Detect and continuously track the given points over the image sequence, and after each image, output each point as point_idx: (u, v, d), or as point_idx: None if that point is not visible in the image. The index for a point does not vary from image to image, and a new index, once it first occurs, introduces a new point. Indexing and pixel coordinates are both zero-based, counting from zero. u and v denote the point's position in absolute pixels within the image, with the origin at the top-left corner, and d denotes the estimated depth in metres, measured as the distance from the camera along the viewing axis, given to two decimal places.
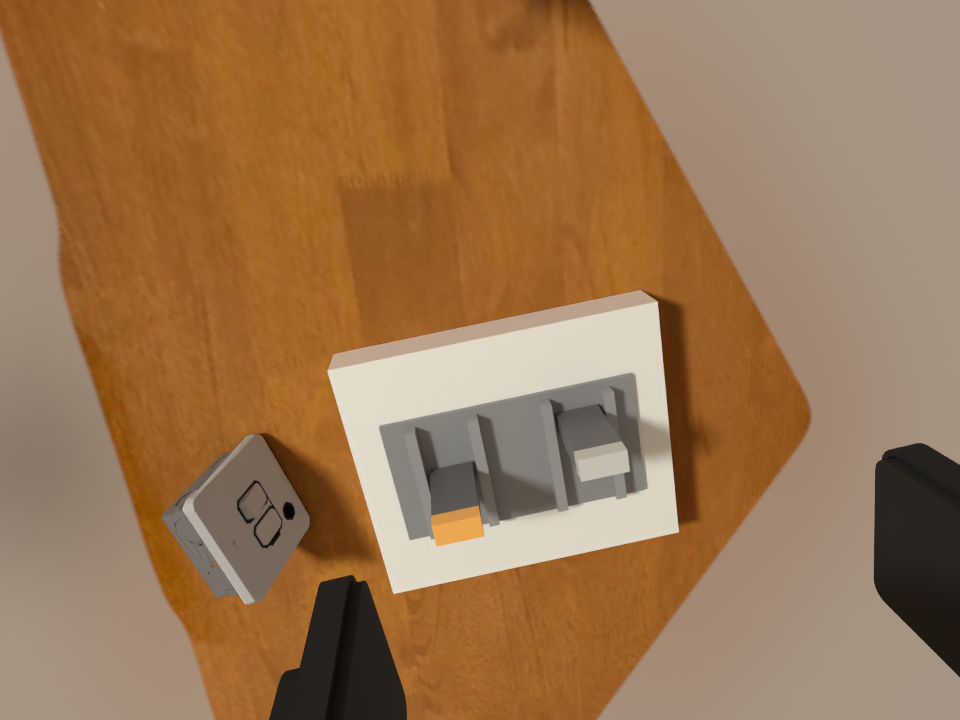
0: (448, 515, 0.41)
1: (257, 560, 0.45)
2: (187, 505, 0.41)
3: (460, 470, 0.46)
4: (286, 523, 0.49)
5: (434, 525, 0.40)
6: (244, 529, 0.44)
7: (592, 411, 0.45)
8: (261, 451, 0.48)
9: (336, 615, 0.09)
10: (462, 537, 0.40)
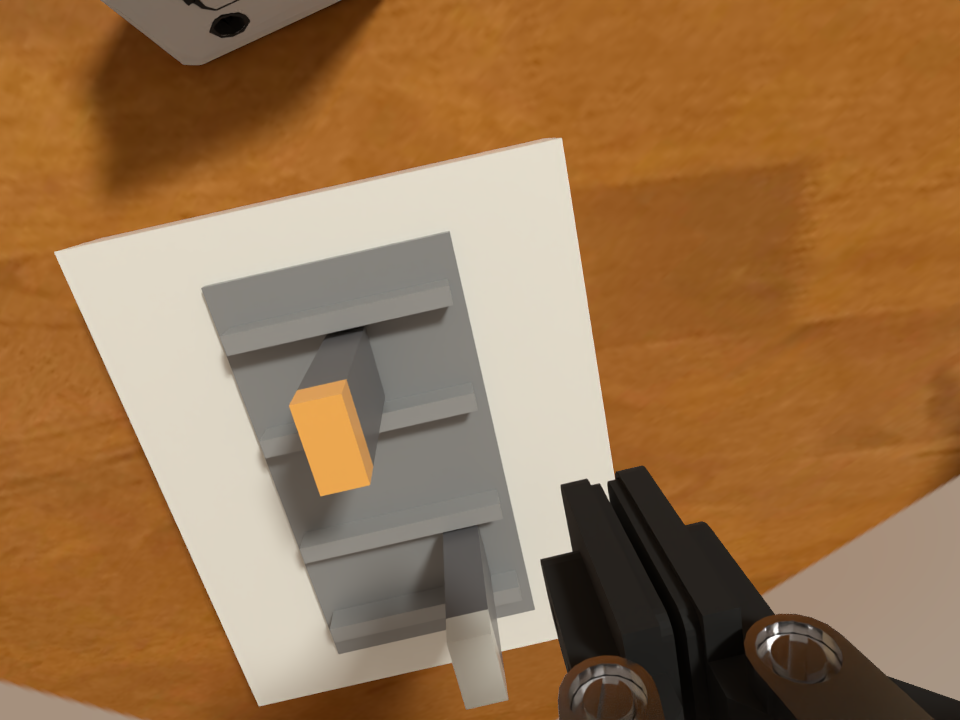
0: (355, 417, 0.20)
1: None
2: None
3: (377, 385, 0.25)
4: (203, 18, 0.22)
5: (342, 398, 0.19)
6: None
7: (489, 575, 0.29)
8: None
9: (593, 505, 0.11)
10: (314, 455, 0.19)
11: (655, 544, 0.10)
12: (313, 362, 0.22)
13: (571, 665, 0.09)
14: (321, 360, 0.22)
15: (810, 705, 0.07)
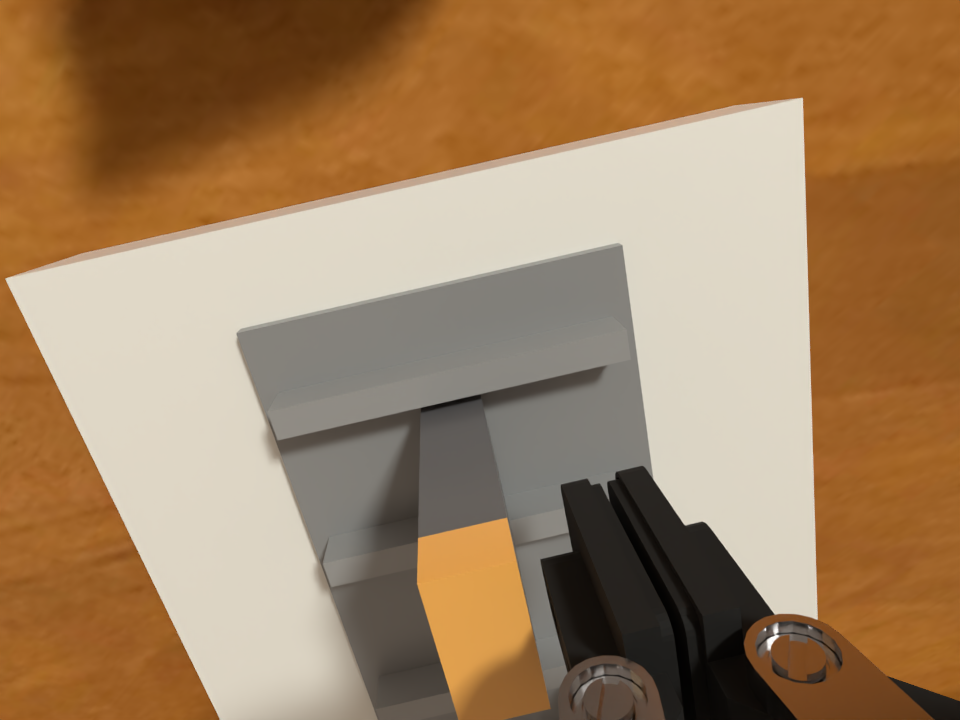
0: (522, 586, 0.11)
1: None
2: None
3: (500, 480, 0.16)
4: None
5: (516, 568, 0.10)
6: None
7: None
8: None
9: (594, 506, 0.11)
10: (456, 665, 0.10)
11: (655, 544, 0.10)
12: (422, 465, 0.13)
13: (571, 665, 0.09)
14: (436, 461, 0.13)
15: (810, 705, 0.07)
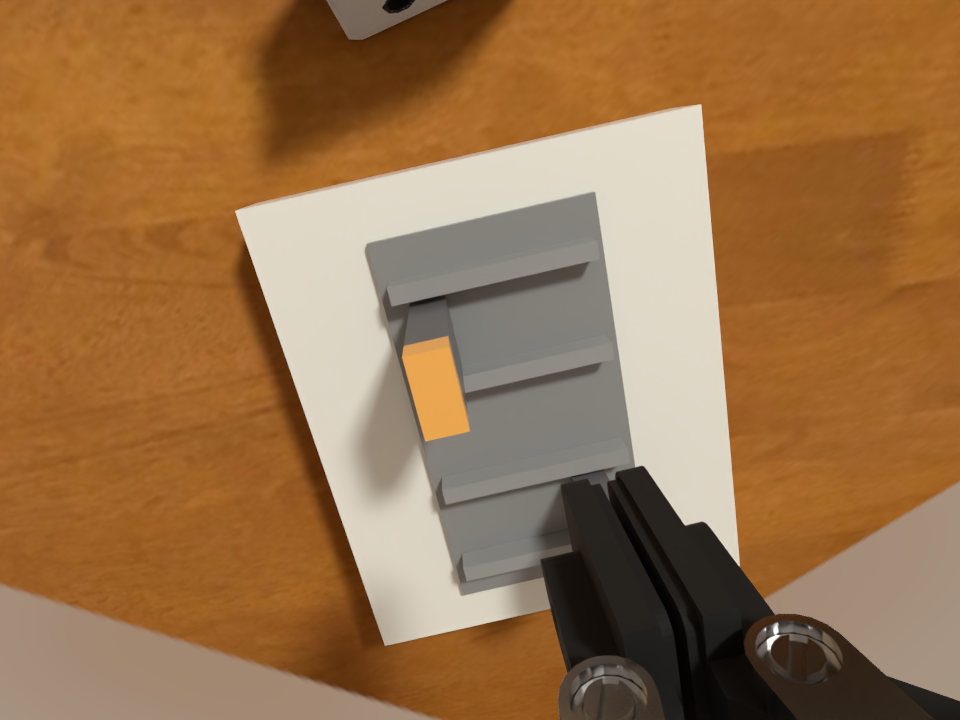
0: (456, 370, 0.22)
1: None
2: None
3: (457, 350, 0.27)
4: None
5: (449, 351, 0.21)
6: None
7: None
8: None
9: (594, 505, 0.11)
10: (422, 403, 0.21)
11: (655, 544, 0.10)
12: (408, 325, 0.24)
13: (571, 665, 0.09)
14: (415, 323, 0.24)
15: (810, 705, 0.07)
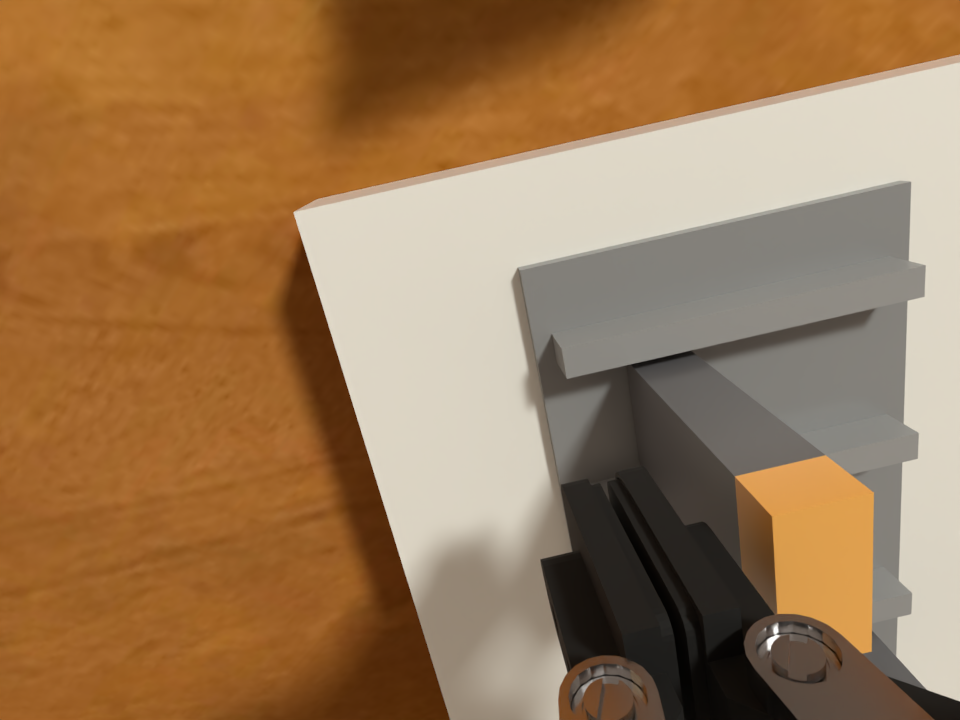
0: None
1: None
2: None
3: None
4: None
5: (868, 501, 0.10)
6: None
7: None
8: None
9: (594, 506, 0.11)
10: (792, 604, 0.10)
11: (655, 544, 0.10)
12: (679, 413, 0.13)
13: (571, 665, 0.09)
14: (692, 409, 0.13)
15: (810, 705, 0.07)
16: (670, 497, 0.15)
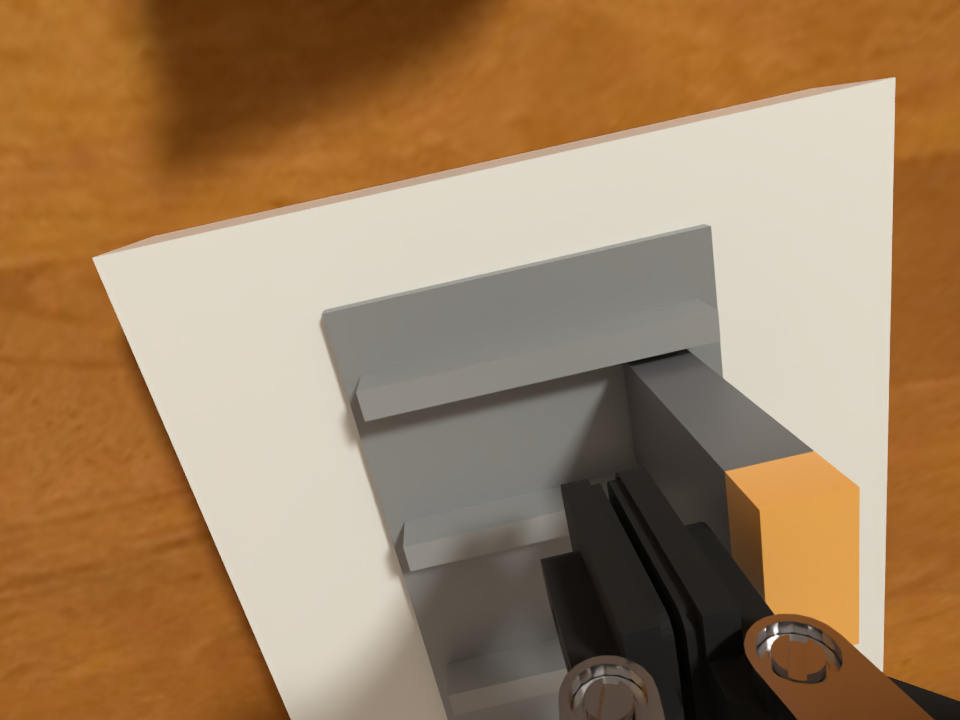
0: None
1: None
2: None
3: None
4: None
5: (854, 495, 0.10)
6: None
7: None
8: None
9: (594, 505, 0.11)
10: (779, 597, 0.10)
11: (655, 544, 0.10)
12: (673, 410, 0.13)
13: (571, 665, 0.09)
14: (686, 406, 0.13)
15: (810, 705, 0.07)
16: (665, 493, 0.15)
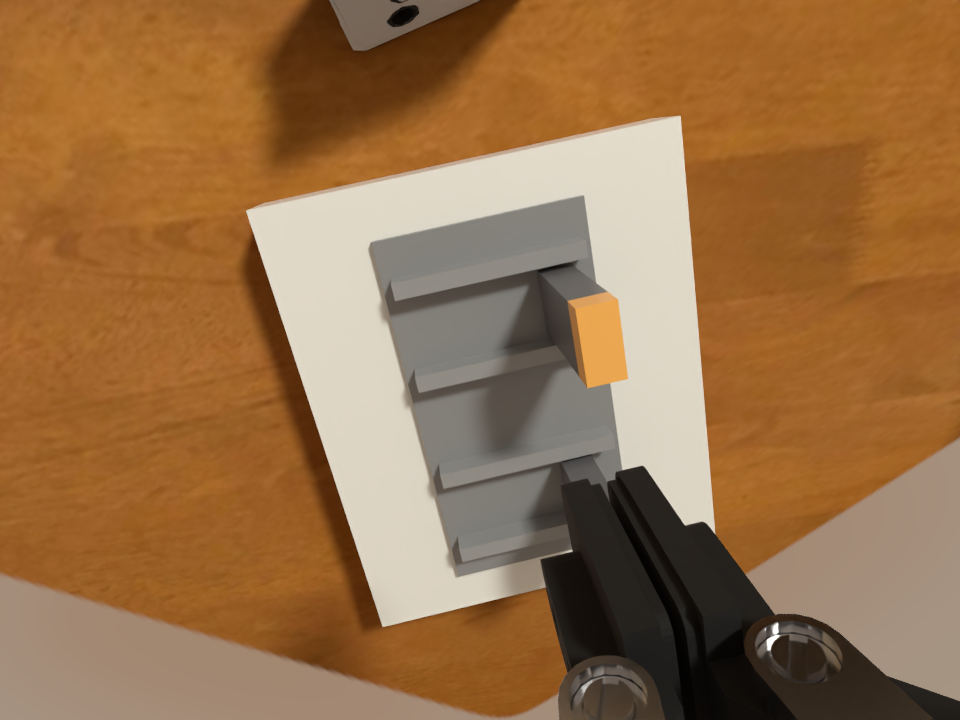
0: None
1: None
2: None
3: None
4: (387, 9, 0.26)
5: (617, 304, 0.23)
6: None
7: None
8: None
9: (594, 505, 0.11)
10: (588, 352, 0.23)
11: (655, 544, 0.10)
12: (554, 285, 0.26)
13: (571, 665, 0.09)
14: (560, 284, 0.26)
15: (810, 705, 0.07)
16: (557, 339, 0.28)
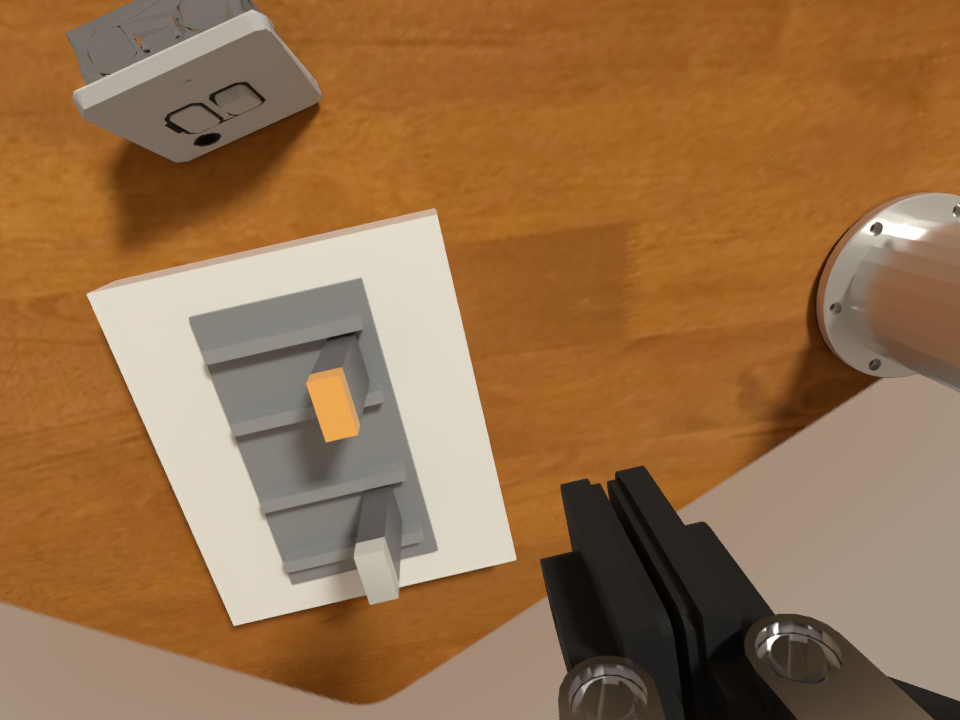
0: (348, 391, 0.30)
1: (149, 109, 0.29)
2: (258, 18, 0.27)
3: (364, 373, 0.36)
4: (189, 137, 0.33)
5: (340, 379, 0.29)
6: (202, 91, 0.29)
7: (399, 522, 0.39)
8: (298, 104, 0.34)
9: (594, 505, 0.11)
10: (322, 415, 0.30)
11: (655, 544, 0.10)
12: (320, 356, 0.33)
13: (571, 665, 0.09)
14: (325, 355, 0.33)
15: (810, 705, 0.07)
16: None
